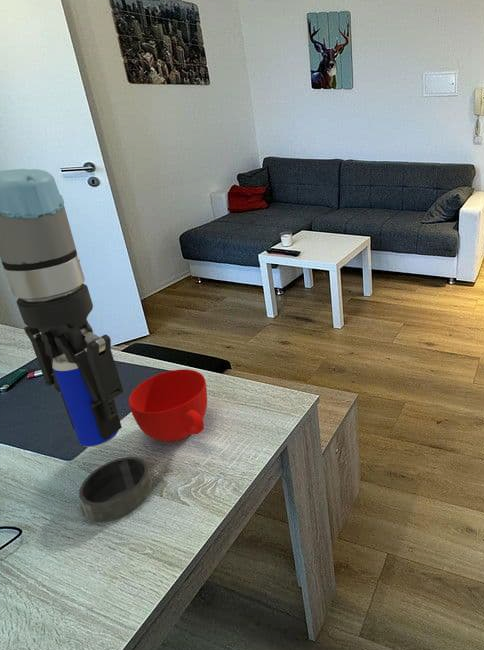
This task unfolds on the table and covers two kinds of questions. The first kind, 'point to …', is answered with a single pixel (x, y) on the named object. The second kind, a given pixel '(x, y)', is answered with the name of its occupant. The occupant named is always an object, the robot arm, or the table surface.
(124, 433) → the table surface
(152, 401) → the ceramic cup
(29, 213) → the robot arm
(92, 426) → the beverage can
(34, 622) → the table surface
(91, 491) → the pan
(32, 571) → the table surface
